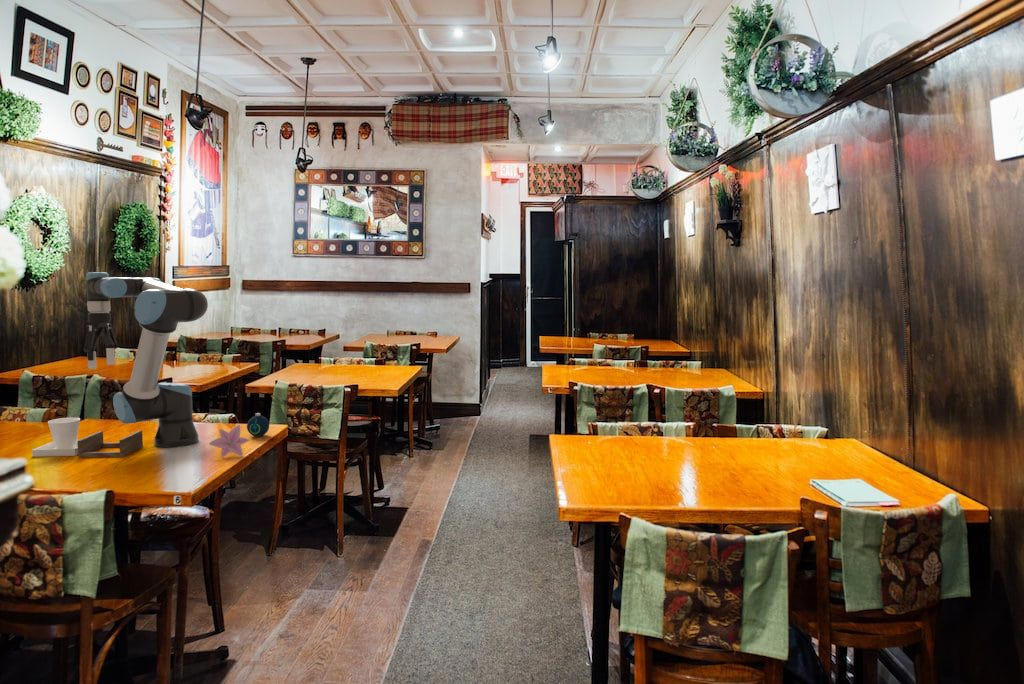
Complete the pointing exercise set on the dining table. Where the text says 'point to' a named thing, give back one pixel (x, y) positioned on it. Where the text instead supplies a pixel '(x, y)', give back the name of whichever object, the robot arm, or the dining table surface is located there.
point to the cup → (64, 432)
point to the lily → (230, 441)
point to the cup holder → (108, 445)
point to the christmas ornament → (258, 425)
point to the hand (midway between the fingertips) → (102, 366)
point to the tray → (54, 451)
